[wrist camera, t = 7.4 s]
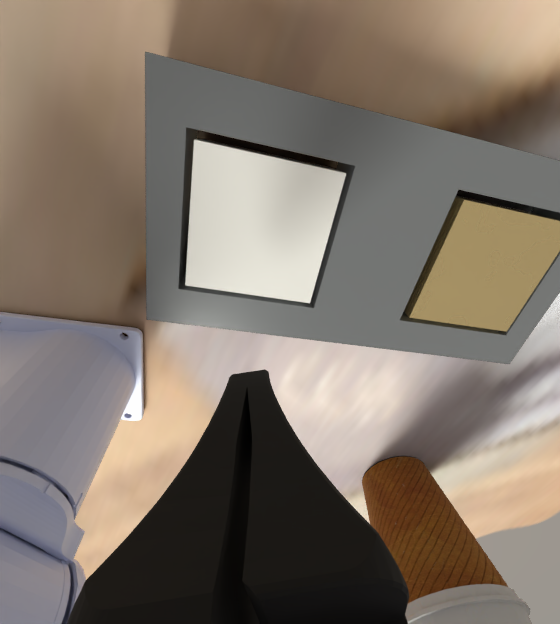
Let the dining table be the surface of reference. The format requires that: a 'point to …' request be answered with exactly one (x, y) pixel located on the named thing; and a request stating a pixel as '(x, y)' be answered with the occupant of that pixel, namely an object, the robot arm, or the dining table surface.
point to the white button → (258, 221)
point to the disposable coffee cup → (436, 550)
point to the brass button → (484, 265)
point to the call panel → (348, 217)
